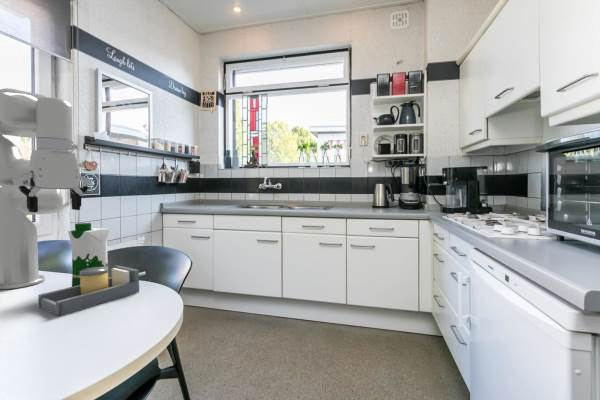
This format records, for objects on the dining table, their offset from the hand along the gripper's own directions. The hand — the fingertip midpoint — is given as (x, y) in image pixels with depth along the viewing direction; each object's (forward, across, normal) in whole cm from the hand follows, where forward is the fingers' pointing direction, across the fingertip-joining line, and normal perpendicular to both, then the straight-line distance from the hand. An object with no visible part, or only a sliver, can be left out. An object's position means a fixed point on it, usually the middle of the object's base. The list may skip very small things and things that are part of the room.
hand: (55, 210), depth 82 cm
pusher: (+24, -17, +8) cm, 30 cm away
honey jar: (+24, -6, +7) cm, 26 cm away
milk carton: (+25, -11, -4) cm, 28 cm away
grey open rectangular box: (+24, -5, +7) cm, 26 cm away
